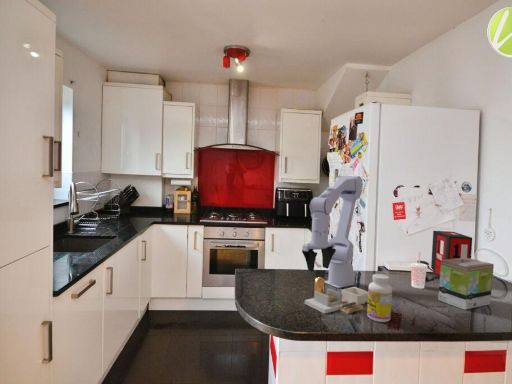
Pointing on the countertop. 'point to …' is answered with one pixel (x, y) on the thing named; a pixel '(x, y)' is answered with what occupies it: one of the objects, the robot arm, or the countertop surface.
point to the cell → (319, 284)
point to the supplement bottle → (379, 298)
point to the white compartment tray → (326, 301)
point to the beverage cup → (418, 274)
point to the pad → (331, 297)
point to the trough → (351, 307)
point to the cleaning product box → (449, 248)
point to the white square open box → (355, 295)
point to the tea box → (465, 283)
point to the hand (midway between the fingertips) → (318, 269)
